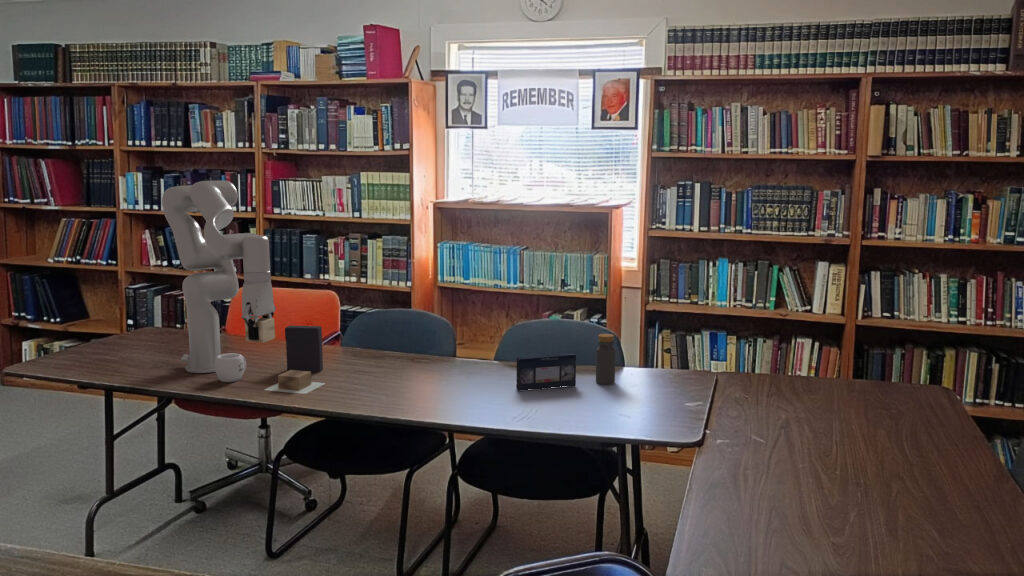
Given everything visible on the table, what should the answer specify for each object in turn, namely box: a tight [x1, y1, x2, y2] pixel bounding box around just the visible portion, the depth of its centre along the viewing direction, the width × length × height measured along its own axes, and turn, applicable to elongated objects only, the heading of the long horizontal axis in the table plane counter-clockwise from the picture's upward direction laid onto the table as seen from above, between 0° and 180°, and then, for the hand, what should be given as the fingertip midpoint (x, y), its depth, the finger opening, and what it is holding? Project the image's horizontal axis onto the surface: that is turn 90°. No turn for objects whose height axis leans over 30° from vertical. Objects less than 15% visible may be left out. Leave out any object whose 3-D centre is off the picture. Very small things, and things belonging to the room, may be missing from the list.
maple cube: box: [244, 317, 276, 343], centre depth 254 cm, size 6×6×6 cm
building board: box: [263, 381, 326, 395], centre depth 257 cm, size 14×12×1 cm
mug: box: [215, 352, 247, 383], centre depth 267 cm, size 12×8×8 cm
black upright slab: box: [284, 325, 324, 373], centre depth 275 cm, size 11×4×15 cm, turn 84°
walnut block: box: [277, 370, 312, 391], centre depth 257 cm, size 7×7×4 cm
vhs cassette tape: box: [515, 353, 577, 391], centre depth 258 cm, size 18×3×10 cm, turn 105°
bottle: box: [595, 333, 616, 386], centre depth 264 cm, size 6×6×15 cm
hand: (260, 336), depth 255 cm, fingers closed on maple cube, 6 cm apart
